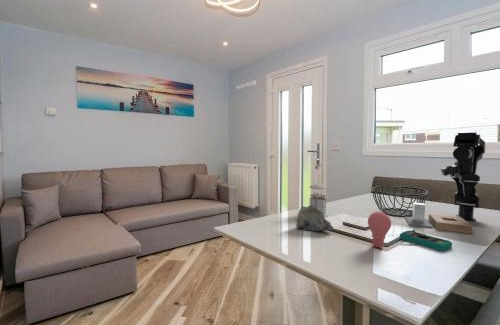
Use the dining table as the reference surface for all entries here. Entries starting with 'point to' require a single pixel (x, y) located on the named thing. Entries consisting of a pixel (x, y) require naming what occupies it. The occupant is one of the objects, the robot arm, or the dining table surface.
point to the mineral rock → (312, 219)
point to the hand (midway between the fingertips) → (462, 195)
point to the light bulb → (379, 227)
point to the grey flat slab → (411, 223)
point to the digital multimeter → (426, 240)
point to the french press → (318, 198)
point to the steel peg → (418, 212)
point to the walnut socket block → (450, 223)
